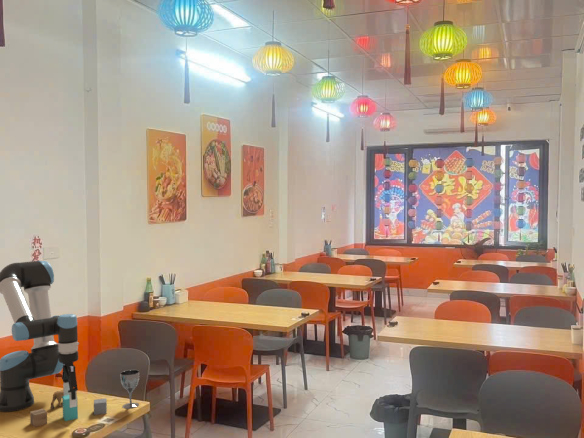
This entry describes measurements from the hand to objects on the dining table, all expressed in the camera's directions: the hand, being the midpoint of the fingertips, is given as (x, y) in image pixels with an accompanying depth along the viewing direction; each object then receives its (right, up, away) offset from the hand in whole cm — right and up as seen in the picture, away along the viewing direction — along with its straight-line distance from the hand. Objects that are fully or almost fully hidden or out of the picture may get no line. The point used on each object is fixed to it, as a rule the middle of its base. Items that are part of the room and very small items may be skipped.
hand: (70, 402), depth 227 cm
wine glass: (+22, -6, +13) cm, 26 cm away
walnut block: (-11, -7, -5) cm, 14 cm away
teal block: (0, -7, +1) cm, 7 cm away
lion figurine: (-10, -7, +17) cm, 21 cm away
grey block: (+11, -7, +6) cm, 14 cm away
